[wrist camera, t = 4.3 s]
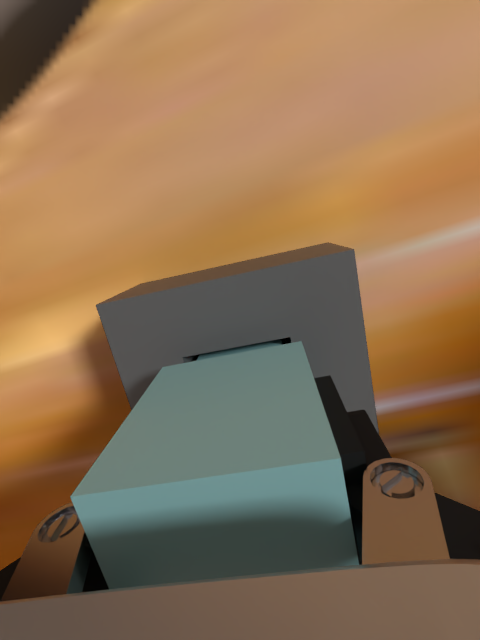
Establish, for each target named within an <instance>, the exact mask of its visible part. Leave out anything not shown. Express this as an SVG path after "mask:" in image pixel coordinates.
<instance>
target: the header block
mask: <svg viewBox="0 0 480 640" xmlns="http://www.w3.org/2000/svg"><path fill="white" fill-rule="evenodd" d="M96 307H97V310H98V313H99V316H100V319H101V322H102V325H103V328H104V331H105V333H106V336H107V339H108V342H109V345H110V348H111V351H112V354H113V357H114V360H115V363H116V366H117V369H118V372H119V374H120V377H121V380H122V383H123V386H124V389H125V392H126V395H127V398H128V401H129V404H130V407H131V410H132V409H133V408H134V407H135V405H136V404H137V402H138V401H139V400H140V398H141V397H142V395H143V394H144V393H145V391H146V390H147V388H148V387H149V385H150V384H151V383H152V381H153V380H154V378H155V377H156V376H157V374H158V373H159V371H160V370H161V369H162V367H166V366H171V365H176V364H182V363H187V362H192V361H197V359H198V357H199V355H200V354H203V353H208V352H214V351H219V350H224V349H229V348H235V347H240V346H245V345H251V344H256V343H261V342H267V341H272V340H277V339H282V338H288V337H289V340H290V343H294V342H299V341H302V344H303V347H304V350H305V353H306V356H307V359H308V362H309V365H310V368H311V371H312V374H313V377H314V378H318V377H323V376H329V375H330V376H331V378H332V380H333V382H334V384H335V387H336V389H337V391H338V393H339V396H340V398H341V400H342V402H343V404H344V407H345V409H346V411H347V412H351V411H357V410H365V411H366V412H367V414H368V416H369V418H370V420H371V421H372V423H373V425H374V427H375V429H376V431H377V432H378V434H379V431H378V424H377V416H376V409H375V401H374V394H373V387H372V379H371V372H370V364H369V357H368V349H367V342H366V335H365V327H364V320H363V312H362V305H361V297H360V290H359V283H358V275H357V268H356V260H355V253H354V249H351V248H347V247H343V246H340V245H336V244H332V243H324V244H319V245H315V246H310V247H306V248H301V249H297V250H292V251H288V252H283V253H278V254H274V255H269V256H265V257H260V258H256V259H251V260H247V261H242V262H238V263H233V264H229V265H224V266H219V267H215V268H210V269H206V270H201V271H197V272H192V273H188V274H183V275H179V276H174V277H170V278H165V279H161V280H156V281H151V282H147V283H142V284H139V285H137V286H135V287H133V288H131V289H129V290H127V291H124V292H122V293H120V294H118V295H116V296H114V297H112V298H110V299H107V300H105V301H103V302H101V303H99V304H97V305H96Z"/></svg>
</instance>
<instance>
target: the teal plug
mask: <svg viewBox="0 0 480 640" xmlns="http://www.w3.org/2000/svg"><path fill="white" fill-rule="evenodd" d="M70 498H71V500H72V503H73V505H74V507H75V510H76V512H77V514H78V517H79V519H80V521H81V524H82V526H83V528H84V531H85V533H86V536H87V538H88V540H89V543H90V545H91V547H92V550H93V552H94V554H95V557H96V559H97V561H98V564H99V566H100V568H101V571H102V573H103V576H104V578H105V580H106V583H107V585H108V587H109V589H118V588H127V587H137V586H147V585H156V584H166V583H176V582H185V581H195V580H205V579H215V578H225V577H235V576H245V575H255V574H266V573H276V572H287V571H297V570H307V569H318V568H328V567H339V566H351V565H359V561H358V555H357V549H356V544H355V538H354V532H353V526H352V520H351V515H350V509H349V503H348V497H347V491H346V485H345V480H344V474H343V468H342V462H341V457H340V454H339V451H338V448H337V445H336V442H335V439H334V436H333V433H332V430H331V427H330V424H329V421H328V418H327V416H326V413H325V410H324V407H323V404H322V401H321V398H320V395H319V392H318V389H317V386H316V383H315V380H314V377H313V374H312V371H311V368H310V365H309V362H308V359H307V356H306V353H305V350H304V347H303V344H302V341H299V342H294V343H288V344H283V342H282V339H277V340H272V341H267V342H261V343H256V344H251V345H245V346H240V347H235V348H229V349H224V350H219V351H214V352H208V353H203V354H200V355H199V357H198V359H197V361H192V362H187V363H182V364H176V365H171V366H166V367H162V369H161V370H160V371H159V373H158V374H157V376H156V377H155V378H154V380H153V381H152V383H151V384H150V385H149V387H148V388H147V390H146V391H145V393H144V394H143V395H142V397H141V398H140V400H139V401H138V402H137V404H136V405H135V407H134V408H133V409H132V411H131V412H130V414H129V415H128V416H127V418H126V419H125V421H124V422H123V423H122V425H121V426H120V428H119V429H118V430H117V432H116V433H115V435H114V436H113V437H112V439H111V440H110V442H109V443H108V444H107V446H106V447H105V449H104V450H103V451H102V453H101V454H100V456H99V457H98V458H97V460H96V461H95V463H94V464H93V465H92V467H91V468H90V470H89V471H88V472H87V474H86V475H85V477H84V478H83V479H82V481H81V482H80V484H79V485H78V486H77V488H76V489H75V491H74V492H73V493H72V495H71V496H70Z"/></svg>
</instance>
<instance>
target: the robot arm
mask: <svg viewBox="0 0 480 640" xmlns="http://www.w3.org/2000/svg"><path fill="white" fill-rule="evenodd" d="M314 380H315V383H316V386H317V389H318V392H319V395H320V398H321V401H322V404H323V407H324V410H325V413H326V416H327V418H328V421H329V424H330V427H331V430H332V433H333V436H334V439H335V442H336V445H337V448H338V451H339V454H340V457H341V462H342V468H343V474H344V480H345V485H346V491H347V497H348V503H349V509H350V515H351V520H352V526H353V532H354V538H355V544H356V549H357V555H358V561H359V565H351V566H339V567H328V568H318V569H307V570H297V571H287V572H276V573H266V574H255V575H245V576H235V577H225V578H215V579H205V580H195V581H185V582H176V583H166V584H156V585H147V586H137V587H127V588H118V589H109V587H108V585H107V583H106V580H105V578H104V576H103V573H102V571H101V568H100V566H99V564H98V561H97V559H96V557H95V554H94V552H93V550H92V547H91V545H90V543H89V540H88V538H87V536H86V533H85V531H84V528H83V526H82V524H81V521H80V519H79V517H78V514H77V512H76V510H75V507H74V505H73V503H68V504H66V505H64V506H61V507H60V508H58V509H56V510H55V511H53V512H52V513H50V514H49V515H48V516H47V517H45V518H44V519H43V520H42V521H41V522H40V523H39V524H38V526H37V527H36V529H35V530H34V532H33V534H32V536H31V538H30V540H29V542H28V544H27V546H26V548H25V550H24V552H23V555H22V557H20V558H19V559H17V560H16V561H14V562H13V563H11V564H10V565H8V566H7V567H5V568H4V569H2V570H1V571H0V640H480V511H478V510H475V509H473V508H471V507H468V506H466V505H463V504H461V503H458V502H456V501H454V500H451V499H449V498H446V497H444V496H441V495H439V494H437V493H434V489H433V485H432V481H431V479H430V477H429V475H428V473H427V472H426V471H425V470H424V469H423V468H422V467H420V466H418V465H417V464H415V463H413V462H410V461H407V460H404V459H398V458H391V456H390V454H389V452H388V450H387V449H386V447H385V445H384V443H383V441H382V440H381V438H380V436H379V434H378V432H377V431H376V429H375V427H374V425H373V423H372V421H371V420H370V418H369V416H368V414H367V412H366V411H365V410H357V411H351V412H347V411H346V409H345V407H344V404H343V402H342V400H341V398H340V396H339V393H338V391H337V389H336V387H335V384H334V382H333V380H332V378H331V376H330V375H329V376H323V377H318V378H314Z"/></svg>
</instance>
